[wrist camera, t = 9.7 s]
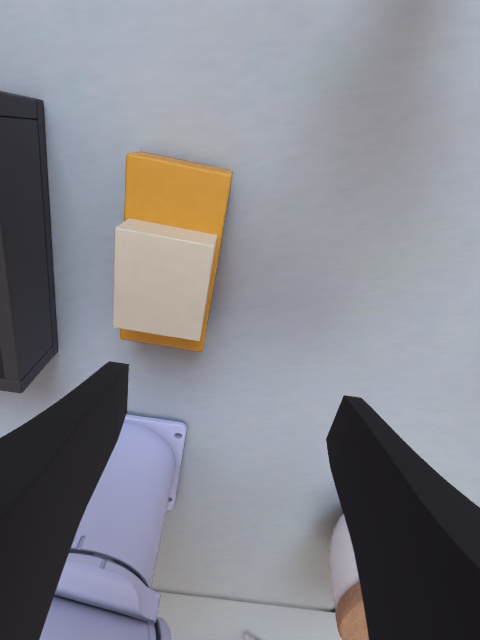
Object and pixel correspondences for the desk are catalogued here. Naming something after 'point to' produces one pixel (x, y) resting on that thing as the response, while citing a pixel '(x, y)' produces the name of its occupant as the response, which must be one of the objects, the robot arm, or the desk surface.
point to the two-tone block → (168, 250)
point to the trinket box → (346, 585)
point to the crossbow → (248, 637)
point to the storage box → (24, 245)
